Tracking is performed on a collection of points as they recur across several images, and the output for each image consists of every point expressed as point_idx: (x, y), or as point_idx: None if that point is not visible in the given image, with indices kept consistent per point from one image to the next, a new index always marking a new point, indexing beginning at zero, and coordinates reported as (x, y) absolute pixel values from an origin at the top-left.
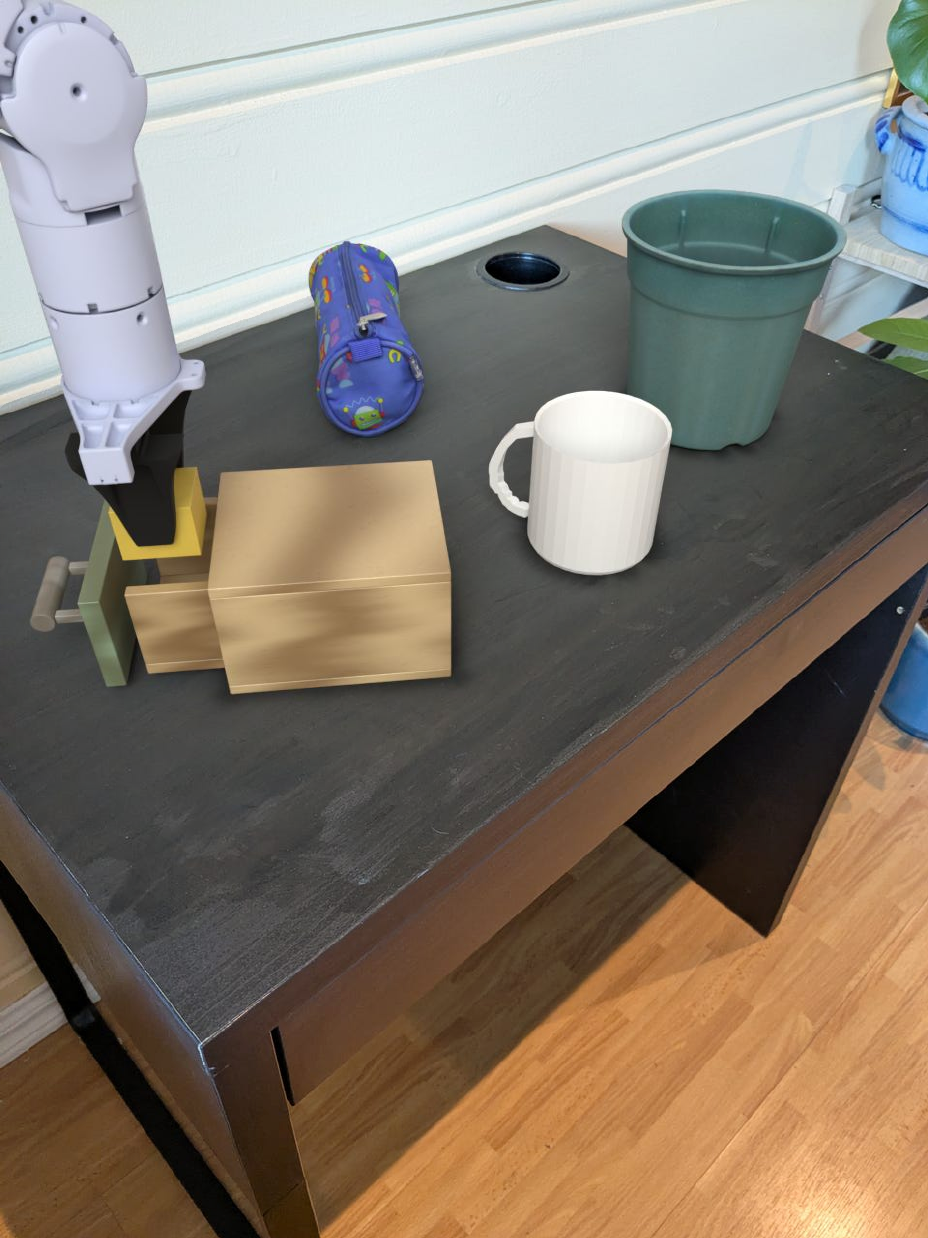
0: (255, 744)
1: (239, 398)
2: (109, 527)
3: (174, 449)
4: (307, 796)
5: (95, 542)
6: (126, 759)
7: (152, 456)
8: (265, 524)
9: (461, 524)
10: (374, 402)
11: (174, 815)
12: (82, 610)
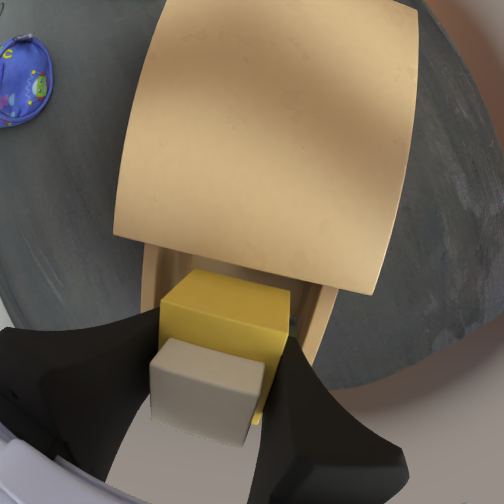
0: (398, 239)
1: (2, 191)
2: None
3: (388, 476)
4: (451, 214)
5: None
6: (370, 329)
7: (385, 498)
8: (253, 189)
9: None
10: (33, 77)
11: (428, 303)
12: None
